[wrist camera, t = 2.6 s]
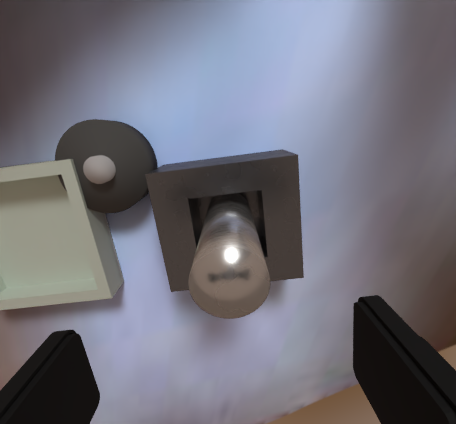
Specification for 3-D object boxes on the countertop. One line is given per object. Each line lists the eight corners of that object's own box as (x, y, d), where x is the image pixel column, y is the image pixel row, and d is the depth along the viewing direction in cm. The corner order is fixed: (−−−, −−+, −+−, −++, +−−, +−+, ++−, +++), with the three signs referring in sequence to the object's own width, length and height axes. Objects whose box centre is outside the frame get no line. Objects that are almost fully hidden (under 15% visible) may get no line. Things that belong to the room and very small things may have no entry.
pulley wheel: (147, 115, 21) (133, 112, 18) (164, 199, 23) (154, 210, 20) (62, 126, 21) (34, 126, 18) (87, 209, 23) (65, 221, 20)
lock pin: (248, 188, 21) (266, 242, 11) (252, 229, 22) (273, 314, 12) (205, 194, 22) (181, 251, 11) (211, 234, 23) (195, 322, 12)
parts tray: (89, 155, 22) (70, 159, 19) (124, 281, 25) (112, 298, 23) (-48, 173, 22) (-84, 179, 20) (5, 294, 26) (-20, 312, 23)
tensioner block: (282, 149, 21) (297, 154, 17) (288, 248, 24) (303, 277, 19) (163, 164, 22) (144, 174, 17) (182, 260, 24) (171, 291, 20)
